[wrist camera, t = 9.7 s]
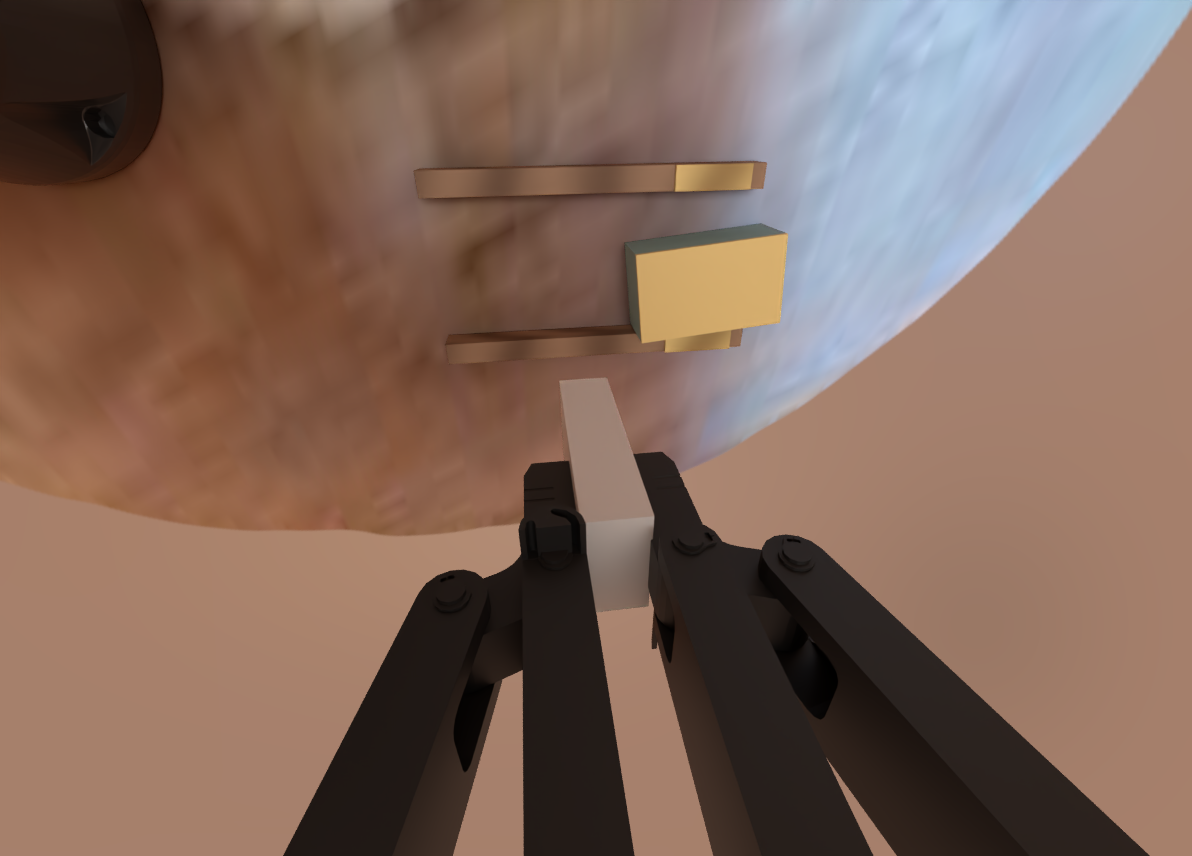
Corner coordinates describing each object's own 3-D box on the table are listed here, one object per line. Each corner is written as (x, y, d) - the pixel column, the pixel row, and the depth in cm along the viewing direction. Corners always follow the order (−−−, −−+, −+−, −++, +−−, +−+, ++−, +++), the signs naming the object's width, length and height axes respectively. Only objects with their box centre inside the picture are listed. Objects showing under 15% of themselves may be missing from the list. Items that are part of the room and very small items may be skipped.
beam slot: (452, 353, 38) (448, 366, 36) (419, 168, 31) (412, 171, 29) (730, 337, 40) (741, 347, 38) (754, 161, 33) (768, 162, 31)
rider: (629, 322, 38) (641, 343, 35) (623, 242, 35) (636, 255, 31) (754, 303, 39) (779, 322, 35) (759, 223, 36) (787, 233, 32)
